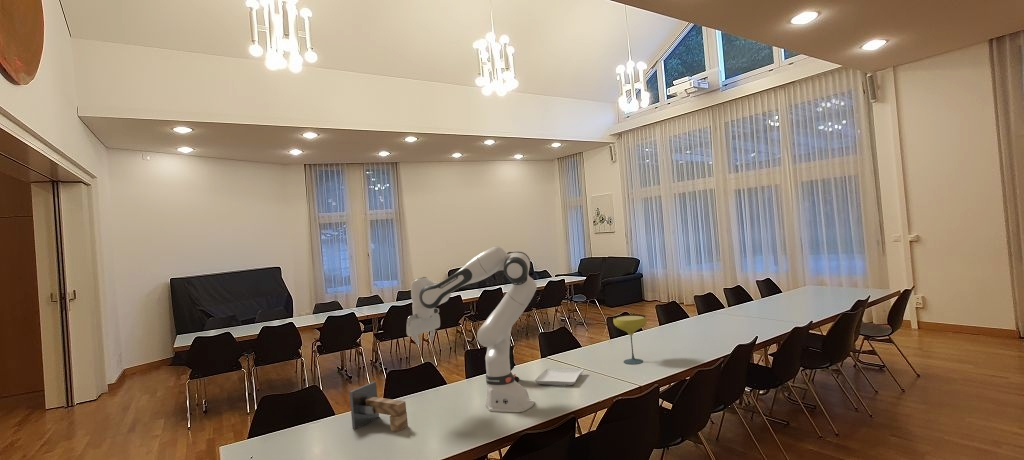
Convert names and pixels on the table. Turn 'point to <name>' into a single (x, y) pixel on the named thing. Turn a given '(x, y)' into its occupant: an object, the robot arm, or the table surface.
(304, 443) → the table surface
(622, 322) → the cocktail glass
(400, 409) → the walnut rail
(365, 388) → the bracket
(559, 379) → the salad plate
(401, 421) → the oak post
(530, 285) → the robot arm
